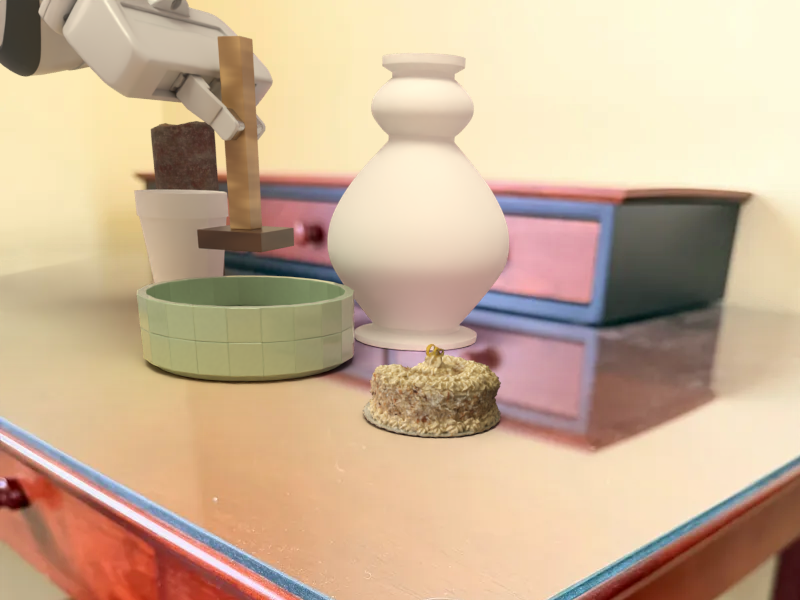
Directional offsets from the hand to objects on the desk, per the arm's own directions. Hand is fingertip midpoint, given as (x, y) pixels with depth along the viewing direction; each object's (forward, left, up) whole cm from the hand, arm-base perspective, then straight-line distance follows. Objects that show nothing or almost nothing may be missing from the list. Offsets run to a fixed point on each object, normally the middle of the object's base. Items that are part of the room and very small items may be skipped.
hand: (247, 135), depth 67 cm
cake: (+15, -17, -18) cm, 29 cm away
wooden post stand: (-1, 0, -9) cm, 9 cm away
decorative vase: (+14, +11, -18) cm, 26 cm away
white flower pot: (-11, +19, -18) cm, 28 cm away
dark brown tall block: (-13, +30, -18) cm, 37 cm away
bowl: (-1, 0, -18) cm, 18 cm away
